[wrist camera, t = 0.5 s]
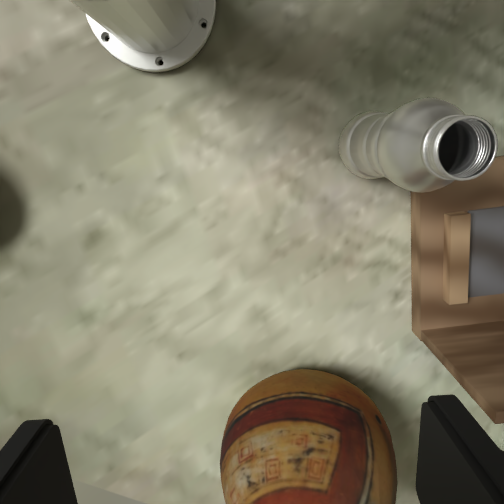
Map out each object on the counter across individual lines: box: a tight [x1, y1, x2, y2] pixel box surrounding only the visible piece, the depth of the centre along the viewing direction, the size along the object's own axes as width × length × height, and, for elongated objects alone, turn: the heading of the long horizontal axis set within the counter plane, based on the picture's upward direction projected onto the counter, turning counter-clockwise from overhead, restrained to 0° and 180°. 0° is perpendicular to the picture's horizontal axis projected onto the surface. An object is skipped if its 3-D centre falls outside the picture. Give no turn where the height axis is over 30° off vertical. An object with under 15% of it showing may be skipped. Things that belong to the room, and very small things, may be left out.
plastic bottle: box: [339, 97, 498, 193], centre depth 32 cm, size 6×7×20 cm
